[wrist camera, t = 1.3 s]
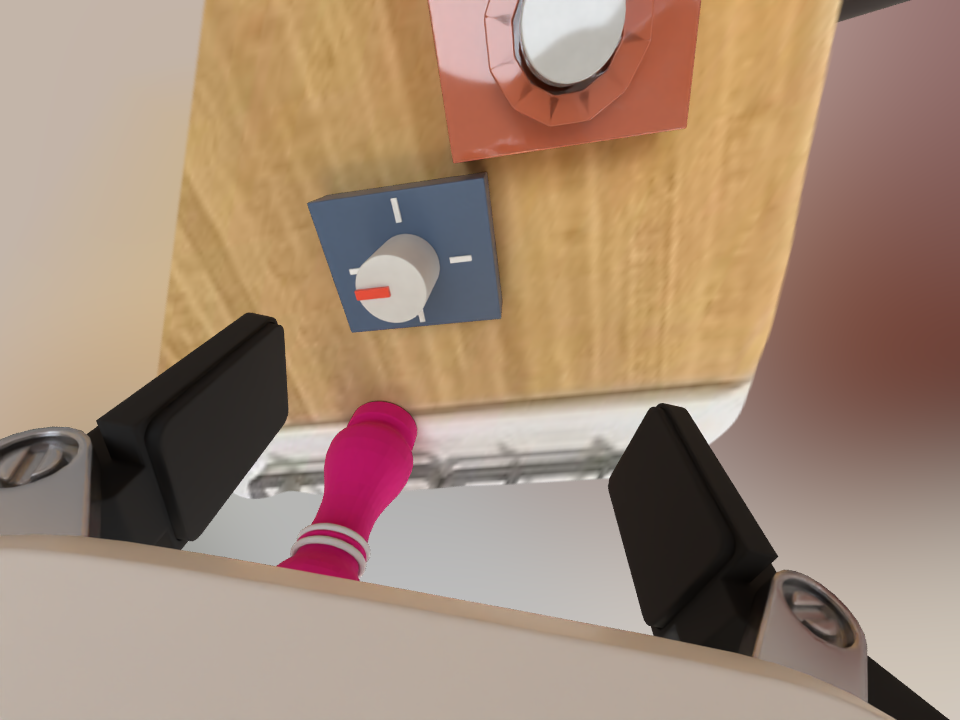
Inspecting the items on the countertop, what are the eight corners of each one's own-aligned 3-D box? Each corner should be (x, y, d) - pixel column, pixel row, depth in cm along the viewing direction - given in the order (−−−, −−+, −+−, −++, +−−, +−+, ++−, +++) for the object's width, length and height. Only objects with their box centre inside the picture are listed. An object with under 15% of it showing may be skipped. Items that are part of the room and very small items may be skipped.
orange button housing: (680, -94, 18) (744, -177, 13) (661, 127, 23) (703, 129, 18) (432, -38, 20) (404, -93, 15) (461, 157, 25) (447, 167, 19)
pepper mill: (353, 450, 39) (229, 704, 22) (342, 393, 35) (182, 646, 18) (424, 456, 39) (353, 718, 22) (420, 399, 35) (332, 662, 18)
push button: (616, -45, 15) (629, -66, 14) (612, 79, 17) (623, 74, 16) (515, -23, 16) (515, -41, 14) (523, 94, 18) (524, 91, 16)
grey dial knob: (433, 229, 24) (416, 252, 20) (445, 290, 26) (432, 322, 22) (371, 237, 25) (343, 260, 20) (388, 296, 27) (365, 328, 23)
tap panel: (487, 171, 25) (483, 177, 22) (502, 301, 29) (501, 319, 27) (326, 195, 26) (305, 203, 24) (364, 315, 31) (350, 334, 28)
